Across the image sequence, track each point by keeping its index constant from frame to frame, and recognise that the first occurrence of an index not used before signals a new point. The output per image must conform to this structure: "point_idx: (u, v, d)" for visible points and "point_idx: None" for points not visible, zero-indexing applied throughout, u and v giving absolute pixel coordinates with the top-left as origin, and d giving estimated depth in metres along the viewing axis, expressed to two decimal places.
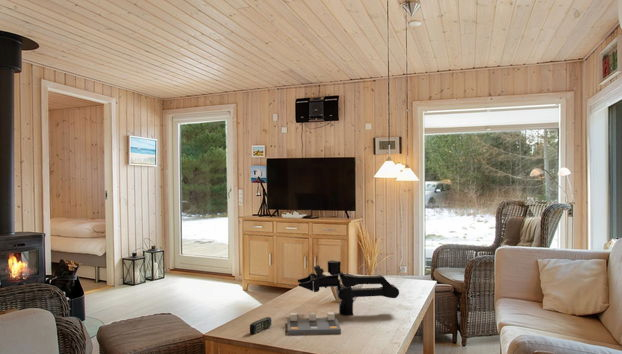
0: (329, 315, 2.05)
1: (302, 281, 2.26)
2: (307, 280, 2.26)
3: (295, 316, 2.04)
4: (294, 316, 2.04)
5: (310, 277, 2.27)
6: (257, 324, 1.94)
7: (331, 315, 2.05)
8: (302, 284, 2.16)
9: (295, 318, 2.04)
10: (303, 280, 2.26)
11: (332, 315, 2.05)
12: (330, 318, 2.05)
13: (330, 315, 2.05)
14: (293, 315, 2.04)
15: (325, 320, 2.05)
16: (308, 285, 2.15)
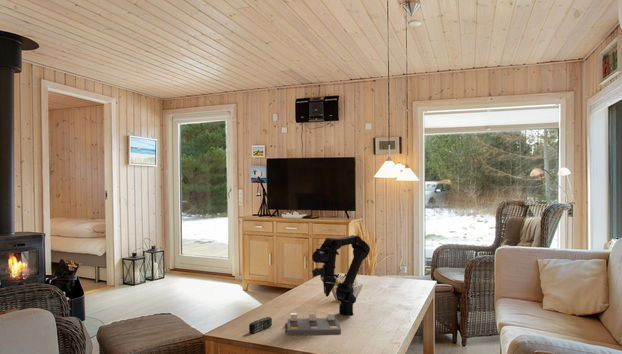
0: (329, 315, 2.05)
1: None
2: None
3: (295, 316, 2.04)
4: (294, 316, 2.04)
5: None
6: (256, 324, 1.95)
7: (331, 315, 2.05)
8: (327, 292, 2.07)
9: (295, 318, 2.04)
10: (325, 286, 2.17)
11: (332, 315, 2.05)
12: (330, 318, 2.05)
13: (330, 315, 2.05)
14: (293, 315, 2.04)
15: (325, 320, 2.05)
16: (328, 286, 2.07)
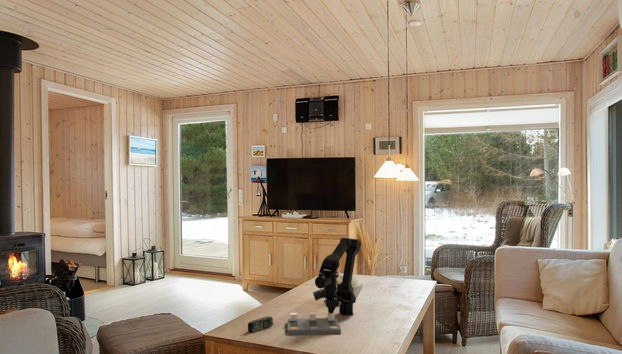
0: (329, 315, 2.04)
1: None
2: None
3: (295, 316, 2.04)
4: (294, 316, 2.04)
5: None
6: (255, 323, 1.96)
7: (331, 315, 2.04)
8: None
9: (295, 318, 2.04)
10: None
11: (332, 315, 2.04)
12: (330, 318, 2.04)
13: (330, 315, 2.04)
14: (293, 315, 2.04)
15: (325, 320, 2.05)
16: (331, 307, 2.07)
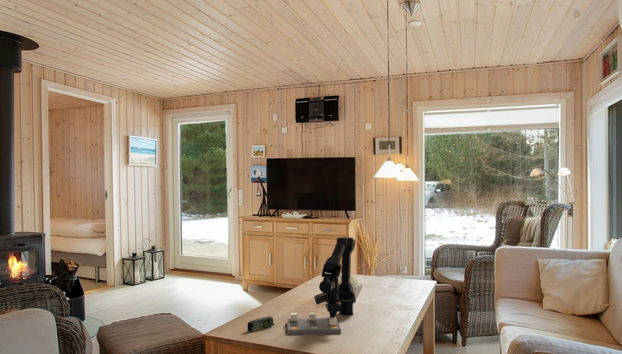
0: (331, 320, 1.98)
1: None
2: None
3: (295, 316, 2.04)
4: (294, 316, 2.04)
5: None
6: (255, 322, 1.96)
7: (333, 320, 1.98)
8: None
9: (295, 318, 2.04)
10: None
11: (334, 320, 1.98)
12: (332, 323, 1.98)
13: (332, 320, 1.98)
14: (293, 315, 2.04)
15: (325, 320, 2.05)
16: None
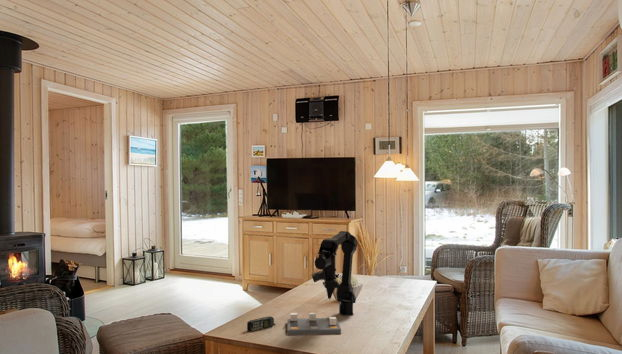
0: (331, 320, 1.98)
1: None
2: None
3: (295, 316, 2.04)
4: (294, 316, 2.04)
5: None
6: (255, 322, 1.97)
7: (333, 320, 1.98)
8: (329, 295, 2.03)
9: (295, 318, 2.04)
10: None
11: (334, 320, 1.98)
12: (332, 323, 1.98)
13: (332, 320, 1.98)
14: (293, 315, 2.04)
15: (325, 320, 2.05)
16: (330, 289, 2.02)
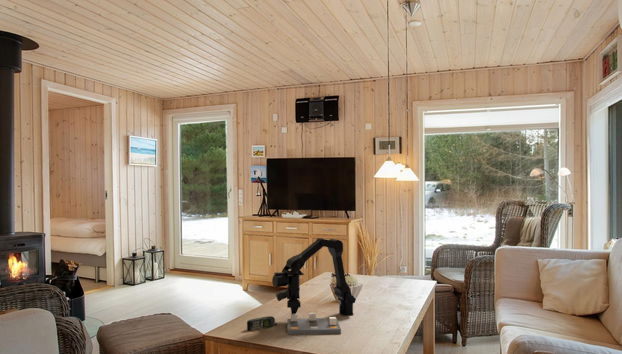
0: (331, 320, 1.98)
1: None
2: None
3: (295, 317, 2.03)
4: (294, 317, 2.03)
5: None
6: (254, 321, 1.98)
7: (333, 320, 1.98)
8: None
9: (295, 318, 2.03)
10: None
11: (334, 320, 1.98)
12: (332, 323, 1.98)
13: (332, 320, 1.98)
14: (293, 315, 2.03)
15: (325, 320, 2.05)
16: (294, 307, 2.06)
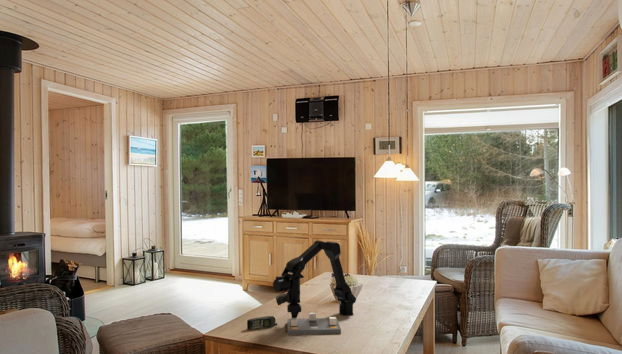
0: (331, 320, 1.98)
1: None
2: None
3: (295, 321, 1.97)
4: (294, 321, 1.97)
5: None
6: (254, 321, 1.99)
7: (333, 320, 1.98)
8: None
9: (296, 323, 1.97)
10: None
11: (334, 320, 1.98)
12: (332, 323, 1.98)
13: (332, 320, 1.98)
14: (293, 320, 1.97)
15: (325, 320, 2.05)
16: (294, 312, 1.99)
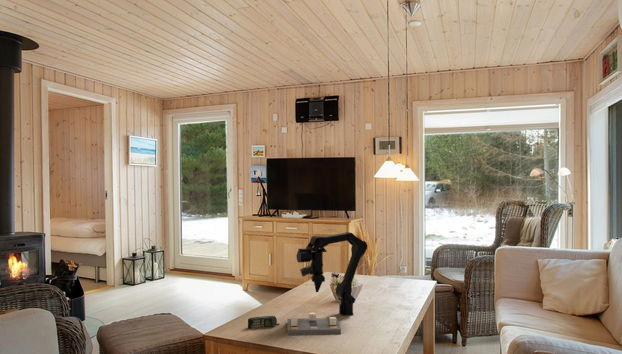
0: (331, 320, 1.98)
1: None
2: None
3: (295, 321, 1.97)
4: (294, 321, 1.97)
5: None
6: (255, 320, 2.00)
7: (333, 320, 1.98)
8: (316, 288, 2.15)
9: (295, 323, 1.97)
10: None
11: (334, 320, 1.98)
12: (332, 323, 1.98)
13: (332, 320, 1.98)
14: (293, 320, 1.97)
15: (325, 320, 2.05)
16: (317, 283, 2.15)
